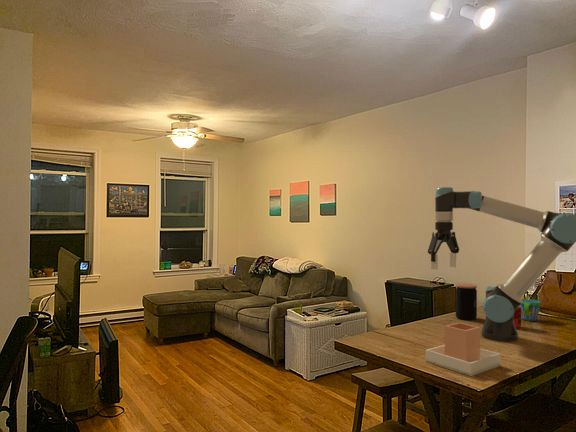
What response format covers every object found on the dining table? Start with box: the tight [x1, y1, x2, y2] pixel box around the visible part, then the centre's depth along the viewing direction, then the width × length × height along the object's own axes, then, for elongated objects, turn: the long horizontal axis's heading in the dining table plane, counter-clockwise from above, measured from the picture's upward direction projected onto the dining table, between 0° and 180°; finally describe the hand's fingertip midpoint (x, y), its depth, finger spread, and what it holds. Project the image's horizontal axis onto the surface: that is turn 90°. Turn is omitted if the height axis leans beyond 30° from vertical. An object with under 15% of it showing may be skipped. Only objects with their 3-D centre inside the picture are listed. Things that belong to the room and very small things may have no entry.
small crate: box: [444, 322, 481, 362], centre depth 168 cm, size 9×9×13 cm
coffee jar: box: [455, 283, 478, 321], centre depth 241 cm, size 11×11×18 cm
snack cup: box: [521, 298, 542, 322], centre depth 238 cm, size 16×10×10 cm
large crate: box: [425, 344, 501, 377], centre depth 168 cm, size 19×19×4 cm
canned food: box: [514, 305, 522, 330], centre depth 223 cm, size 8×8×11 cm
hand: (443, 268), depth 203 cm, fingers open, 13 cm apart
